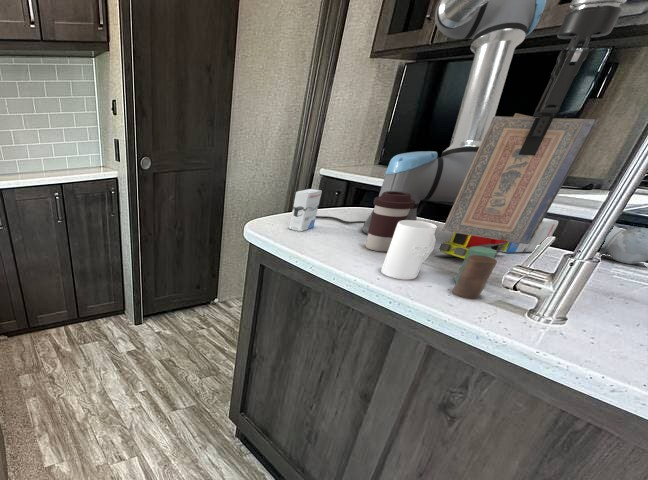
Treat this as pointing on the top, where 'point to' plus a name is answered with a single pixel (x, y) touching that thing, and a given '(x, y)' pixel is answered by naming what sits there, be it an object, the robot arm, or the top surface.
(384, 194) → the coffee cup
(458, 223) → the book
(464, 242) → the toy train
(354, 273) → the top surface
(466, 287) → the walnut peg
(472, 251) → the sage peg
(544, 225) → the ink box
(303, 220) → the ink box
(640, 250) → the figurine
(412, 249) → the mug
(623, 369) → the top surface
